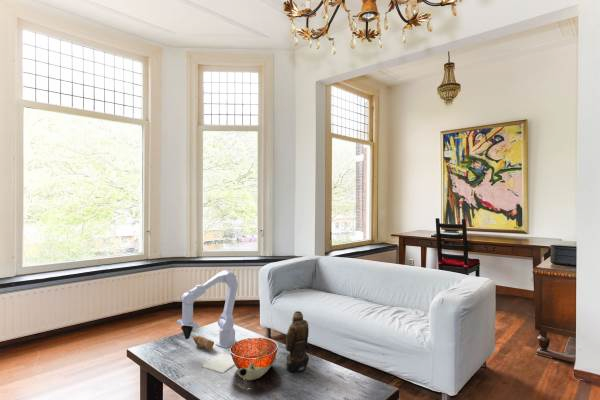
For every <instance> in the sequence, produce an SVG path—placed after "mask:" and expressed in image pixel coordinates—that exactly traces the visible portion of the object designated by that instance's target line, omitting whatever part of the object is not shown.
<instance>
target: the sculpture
mask: <svg viewBox="0 0 600 400" xmlns="http://www.w3.org/2000/svg"><path fill="white" fill-rule="evenodd" d="M291 320H292V322H291V323H290V325H289V327H288V330H287V333H286V335H285V338H286V340H285V343H286V345H285V346H286V347H285V349H286V351H287V352H289V353H288V354H287V355H286V364H285V369H286V370H287V371H289V372H291V373H295V374H297V373H302V372H304V371H305V370H306V369H307V366H308V364H309V361H310V360H309V359H310V358H309V355H308V354H307V351H306V350H308V349H309V347H310V346H309V340H308V338H309V329H310V328H309V323H308V321H307V320H305V319H304V315H303V313H302V311H299V310H298V311H294V313H293V315H292V319H291Z"/></svg>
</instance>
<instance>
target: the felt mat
mask: <svg viewBox="0 0 600 400" xmlns="http://www.w3.org/2000/svg"><path fill="white" fill-rule="evenodd" d="M231 356H232V355H229V354H226V353H222V352H221V353H220V354H218V355H216V356H215V357H214V358H212V359H209V361H207V362H206V363H204V364H202V365H201V368H204V369H207V370H211V371H215V372H217V373H220V374H225V372H227V371H229V370H230V369H232V368H233V367H235V365H236V364H234V362H233V360H232V357H231Z"/></svg>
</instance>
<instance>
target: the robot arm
mask: <svg viewBox="0 0 600 400" xmlns="http://www.w3.org/2000/svg"><path fill="white" fill-rule="evenodd" d="M218 283H220V284H221V283H222V284H223V283H224V284H225V285H227V286H228V287H227V292H226V296H225V297H226V298H225V303H224V307H223V312H222V313H221V314H220V317H219V319H218V320H217V325H218V326H219V332H218V333H219V342H218V343H216V344H215V346H217V347H221V348H224V349H227V348H229V347H231V346H232V345H234V344H236V343H237V341H236V330H235V328H234V317H233V311H234V306H235V301H236V298H237V291H238V286H239V283H238V280H237V275H235V273H234V272H232V271H229V270H228V269H223V270H221V271H219V272H217V273H216V274H215V275H214V276H212V277H211V278H210V279H209V280H207V281H206V282H205V283H203V284H196V285H195V287H193V288H192V289H189V290H188V291H187V292H184V293H182V295H181V297H180V300H181V302H182V307H181V308H182V309H181V310H182V311H181V312H182V314H181V316H182V317H181V319H178V320H176V324H177V325H181V326H180V329H181V331H182V332H183V335H184V340H189V339H190V338H191V334H192V332H193V330H194V329H198V328H199V326H200V325H199V323H197V322H196V321H194V303H195V301H196V299H199V298H200V297H201V296H202V295H204V294H205V293H206V292H207V290H208V289H210V288H211V287H213V286H215V285H216V284H218ZM235 342H236V343H235Z"/></svg>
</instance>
